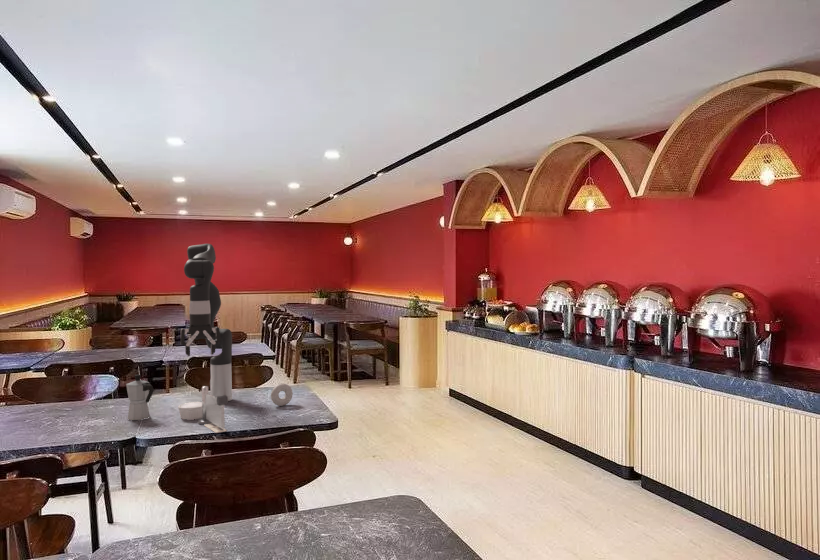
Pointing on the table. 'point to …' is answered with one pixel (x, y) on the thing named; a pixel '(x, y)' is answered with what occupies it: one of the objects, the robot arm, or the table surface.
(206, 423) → the pivot base
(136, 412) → the coffee maker
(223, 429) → the label
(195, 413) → the ramekin
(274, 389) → the donut
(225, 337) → the robot arm
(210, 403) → the white upright panel
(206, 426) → the label
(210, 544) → the table surface
